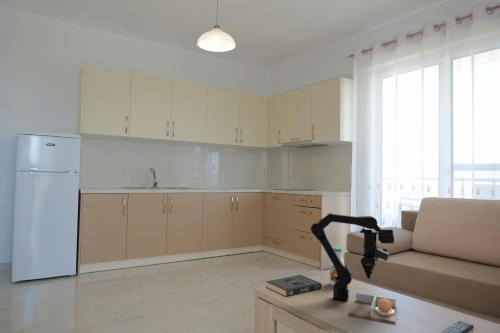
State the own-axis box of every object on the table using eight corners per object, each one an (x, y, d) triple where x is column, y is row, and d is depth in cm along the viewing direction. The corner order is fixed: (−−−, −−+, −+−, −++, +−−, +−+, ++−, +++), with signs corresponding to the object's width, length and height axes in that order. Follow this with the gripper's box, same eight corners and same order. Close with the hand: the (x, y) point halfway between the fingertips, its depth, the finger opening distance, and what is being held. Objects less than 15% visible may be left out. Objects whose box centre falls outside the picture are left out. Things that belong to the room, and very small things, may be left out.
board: (348, 315, 144) (348, 304, 144) (355, 302, 160) (355, 292, 160) (395, 324, 136) (395, 312, 136) (396, 309, 152) (396, 298, 152)
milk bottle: (326, 283, 188) (327, 246, 189) (338, 282, 191) (338, 246, 192) (335, 287, 181) (336, 249, 182) (347, 286, 184) (347, 248, 185)
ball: (377, 314, 145) (376, 303, 143) (378, 305, 150) (377, 294, 148) (391, 316, 143) (391, 305, 141) (392, 307, 147) (391, 296, 146)
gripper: (387, 247, 150) (386, 283, 150) (389, 241, 167) (389, 273, 166) (360, 245, 155) (360, 280, 154) (365, 239, 172) (365, 270, 171)
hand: (369, 275), depth 161 cm, fingers open, 9 cm apart
